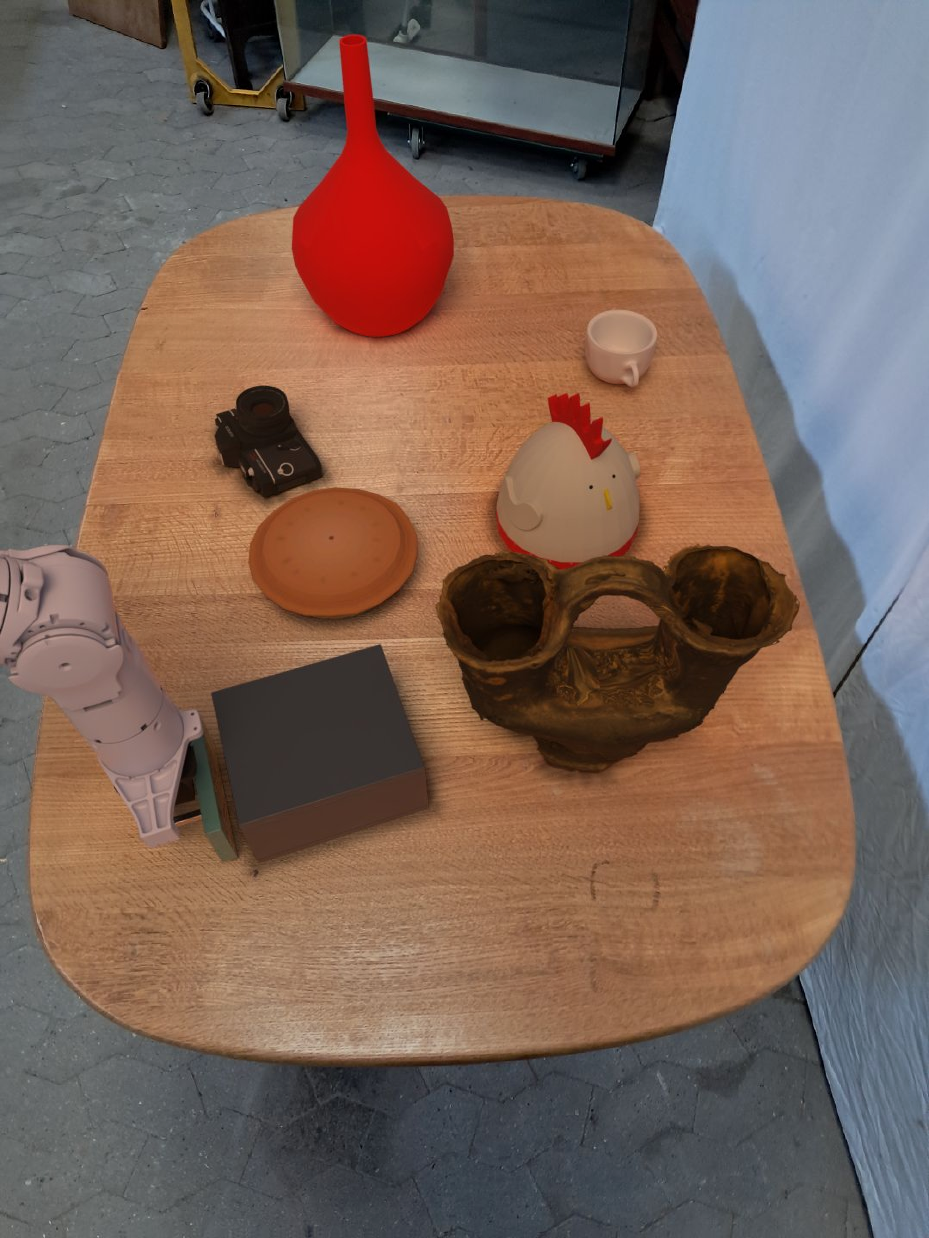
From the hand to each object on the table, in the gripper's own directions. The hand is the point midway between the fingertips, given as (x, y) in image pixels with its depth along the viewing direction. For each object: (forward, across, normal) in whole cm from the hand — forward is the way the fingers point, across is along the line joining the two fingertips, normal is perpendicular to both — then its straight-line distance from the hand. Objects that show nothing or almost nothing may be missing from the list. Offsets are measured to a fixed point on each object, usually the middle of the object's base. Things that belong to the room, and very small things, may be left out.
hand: (181, 795), depth 69 cm
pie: (+4, +20, -17) cm, 26 cm away
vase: (+4, +58, -32) cm, 66 cm away
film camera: (+4, +38, -14) cm, 41 cm away
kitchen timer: (+5, +19, -40) cm, 44 cm away
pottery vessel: (+4, -3, -33) cm, 33 cm away
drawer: (+3, 0, -6) cm, 6 cm away
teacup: (+5, +37, -54) cm, 66 cm away
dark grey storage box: (+4, 0, -11) cm, 11 cm away
